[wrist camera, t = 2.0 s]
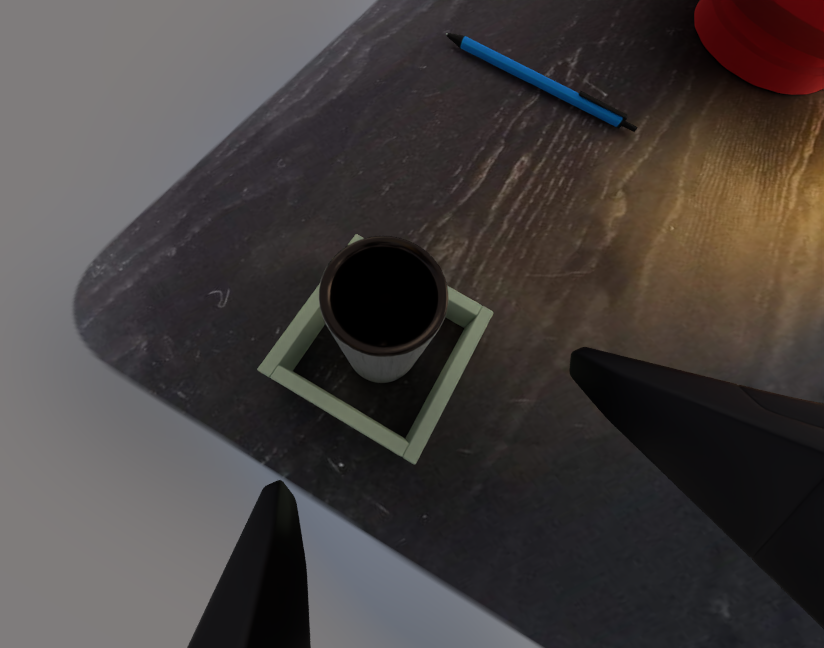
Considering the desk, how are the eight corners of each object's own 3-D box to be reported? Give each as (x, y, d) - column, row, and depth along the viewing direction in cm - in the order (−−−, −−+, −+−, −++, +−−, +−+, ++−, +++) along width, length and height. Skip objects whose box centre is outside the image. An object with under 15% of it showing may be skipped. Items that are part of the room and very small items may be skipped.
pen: (630, 137, 28) (640, 126, 27) (442, 42, 29) (445, 27, 28) (633, 130, 28) (643, 119, 27) (447, 36, 29) (449, 22, 28)
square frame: (409, 457, 19) (415, 465, 16) (274, 375, 20) (256, 369, 17) (479, 324, 22) (494, 311, 19) (359, 256, 22) (356, 233, 19)
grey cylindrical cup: (421, 378, 20) (460, 347, 11) (351, 388, 20) (323, 366, 10) (410, 312, 22) (437, 229, 12) (344, 320, 21) (312, 239, 11)
